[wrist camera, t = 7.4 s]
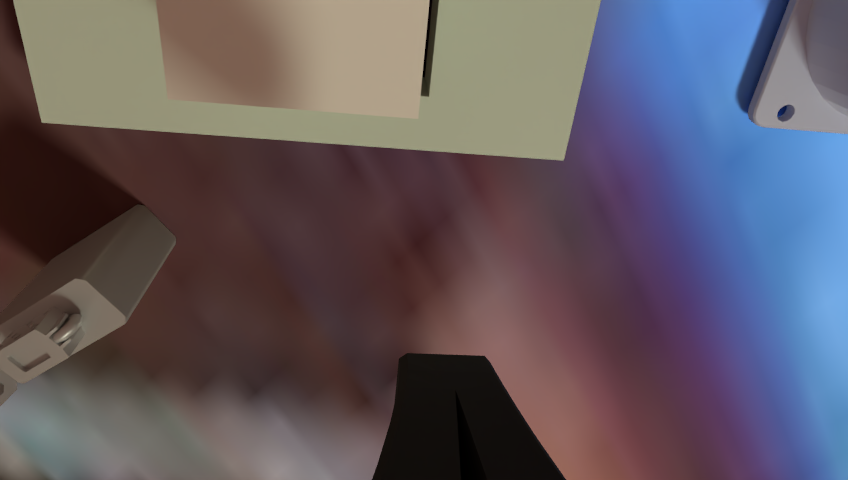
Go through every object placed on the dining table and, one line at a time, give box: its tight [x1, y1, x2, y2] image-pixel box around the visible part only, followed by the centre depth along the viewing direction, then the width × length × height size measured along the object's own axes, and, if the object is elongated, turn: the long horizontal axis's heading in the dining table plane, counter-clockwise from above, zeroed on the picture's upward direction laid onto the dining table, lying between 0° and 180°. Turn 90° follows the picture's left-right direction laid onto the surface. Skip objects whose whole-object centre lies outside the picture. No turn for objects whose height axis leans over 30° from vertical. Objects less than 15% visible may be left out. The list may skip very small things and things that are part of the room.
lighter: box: [0, 204, 176, 406], centre depth 16 cm, size 7×2×8 cm, turn 121°
